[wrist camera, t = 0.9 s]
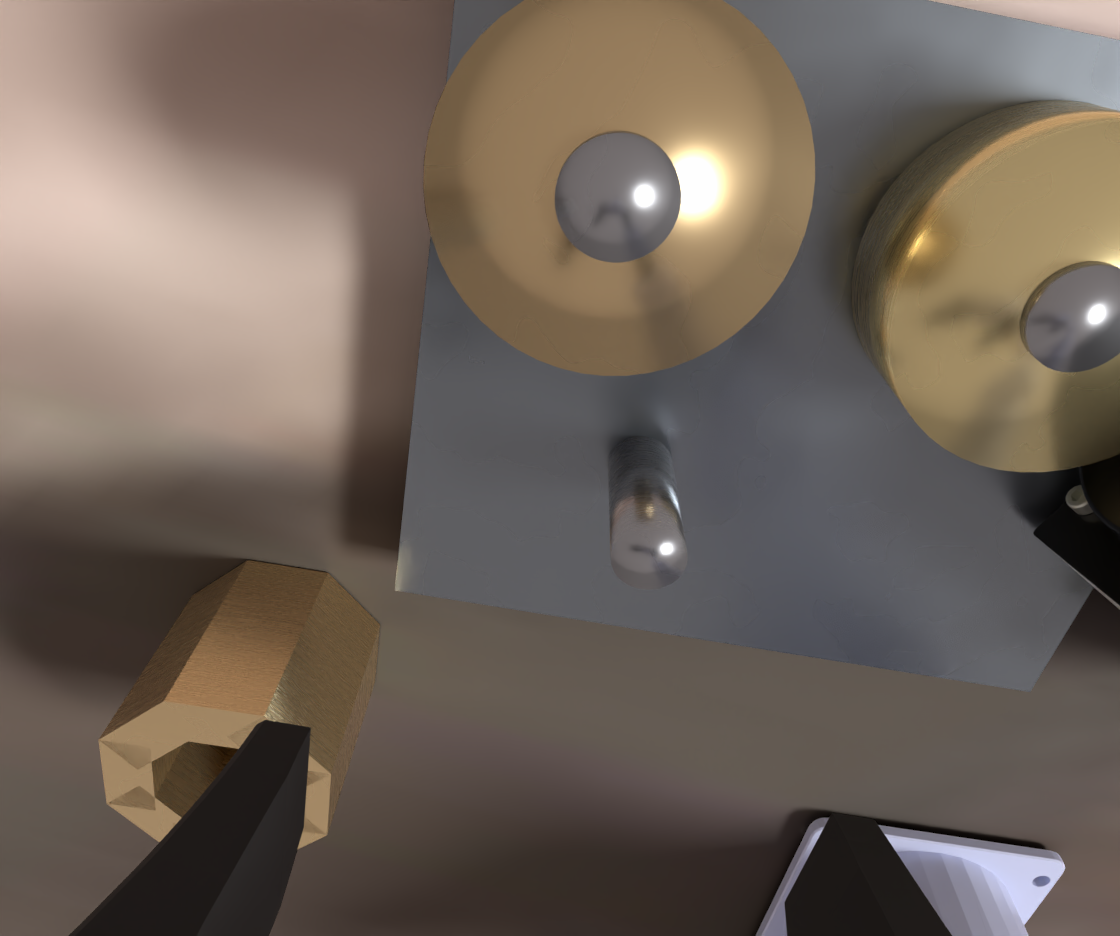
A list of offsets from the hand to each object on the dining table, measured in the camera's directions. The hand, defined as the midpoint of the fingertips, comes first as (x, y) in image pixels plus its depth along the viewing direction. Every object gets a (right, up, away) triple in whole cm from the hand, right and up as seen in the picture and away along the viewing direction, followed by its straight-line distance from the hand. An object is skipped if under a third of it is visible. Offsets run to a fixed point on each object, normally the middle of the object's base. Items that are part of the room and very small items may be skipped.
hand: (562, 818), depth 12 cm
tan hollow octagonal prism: (-8, 0, +12) cm, 14 cm away
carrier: (+5, +7, +7) cm, 11 cm away
